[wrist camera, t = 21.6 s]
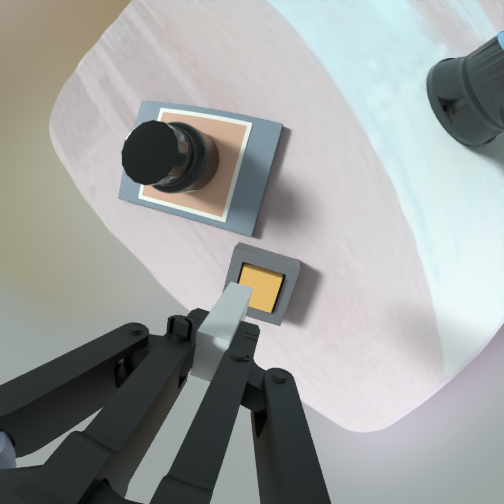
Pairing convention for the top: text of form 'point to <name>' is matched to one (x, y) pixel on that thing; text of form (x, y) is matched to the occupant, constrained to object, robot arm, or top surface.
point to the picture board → (228, 173)
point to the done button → (261, 286)
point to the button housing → (270, 262)
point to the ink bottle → (170, 156)
